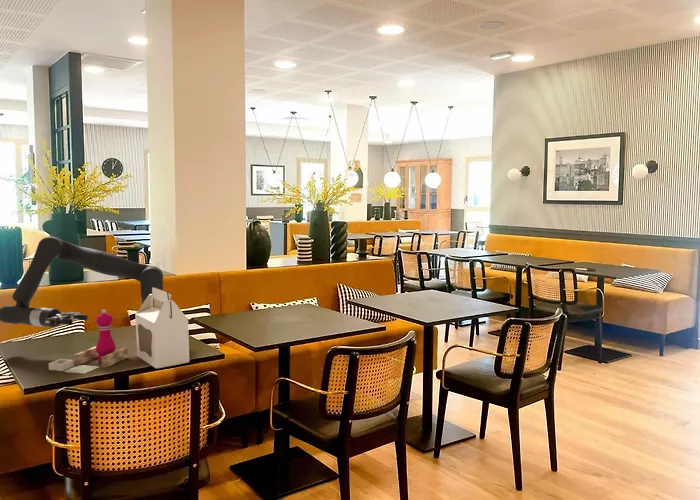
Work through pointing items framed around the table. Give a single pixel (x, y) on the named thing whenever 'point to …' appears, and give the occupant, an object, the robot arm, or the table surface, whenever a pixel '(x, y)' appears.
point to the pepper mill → (104, 335)
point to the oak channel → (106, 359)
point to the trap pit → (61, 364)
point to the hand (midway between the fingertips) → (79, 319)
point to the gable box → (161, 331)
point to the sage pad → (81, 369)
